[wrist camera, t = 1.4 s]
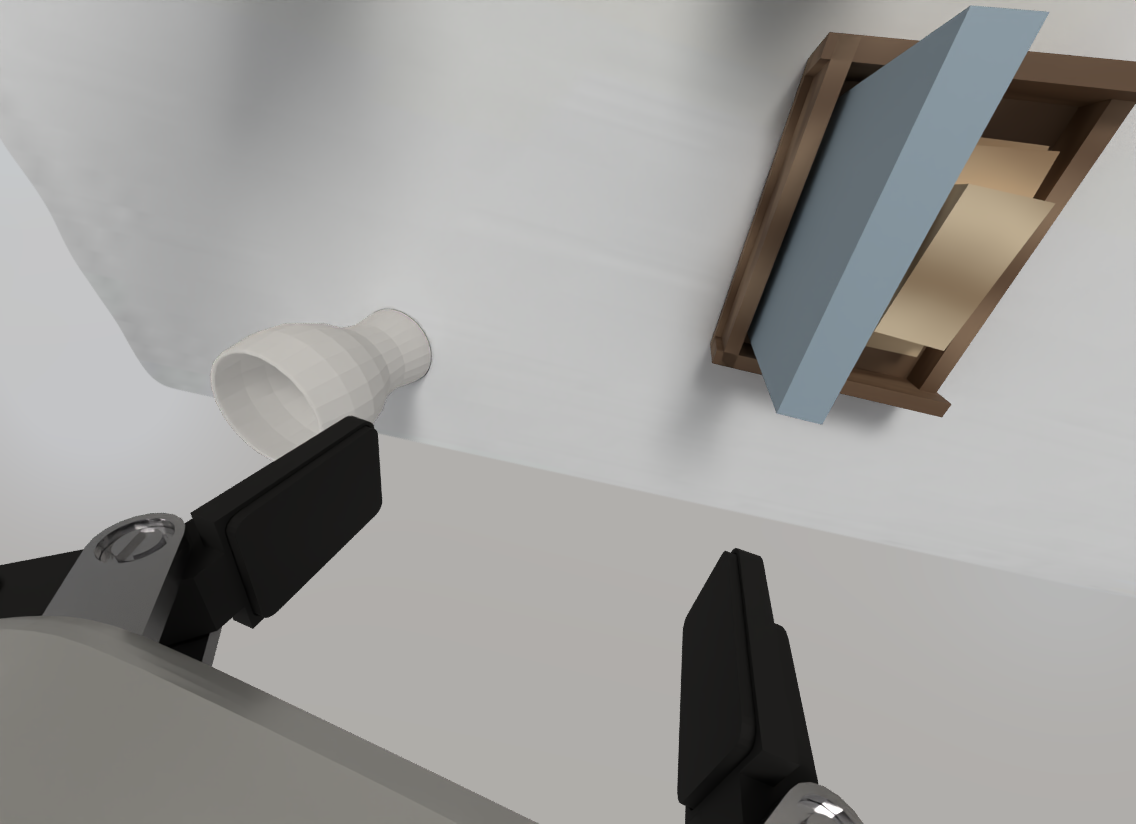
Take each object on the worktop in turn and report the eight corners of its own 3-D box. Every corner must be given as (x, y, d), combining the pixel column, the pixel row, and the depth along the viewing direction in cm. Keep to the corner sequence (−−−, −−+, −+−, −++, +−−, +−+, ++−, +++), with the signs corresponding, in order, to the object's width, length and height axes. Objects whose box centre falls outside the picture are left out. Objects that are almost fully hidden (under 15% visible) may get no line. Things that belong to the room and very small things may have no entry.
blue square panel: (833, 101, 24) (970, 5, 12) (869, 106, 23) (1049, 11, 11) (745, 329, 31) (776, 413, 19) (772, 335, 30) (821, 424, 18)
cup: (464, 356, 40) (355, 432, 27) (408, 410, 45) (295, 494, 32) (386, 270, 38) (228, 308, 25) (337, 336, 43) (186, 395, 30)
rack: (808, 58, 24) (829, 32, 20) (1105, 90, 21) (1194, 67, 18) (710, 343, 33) (712, 363, 29) (911, 389, 30) (941, 417, 27)
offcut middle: (942, 146, 22) (957, 143, 21) (1038, 154, 21) (1060, 151, 20) (859, 323, 27) (868, 329, 26) (935, 335, 26) (947, 342, 25)
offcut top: (953, 184, 22) (968, 183, 20) (1034, 202, 21) (1055, 203, 20) (865, 324, 26) (874, 331, 24) (931, 343, 25) (943, 350, 24)
